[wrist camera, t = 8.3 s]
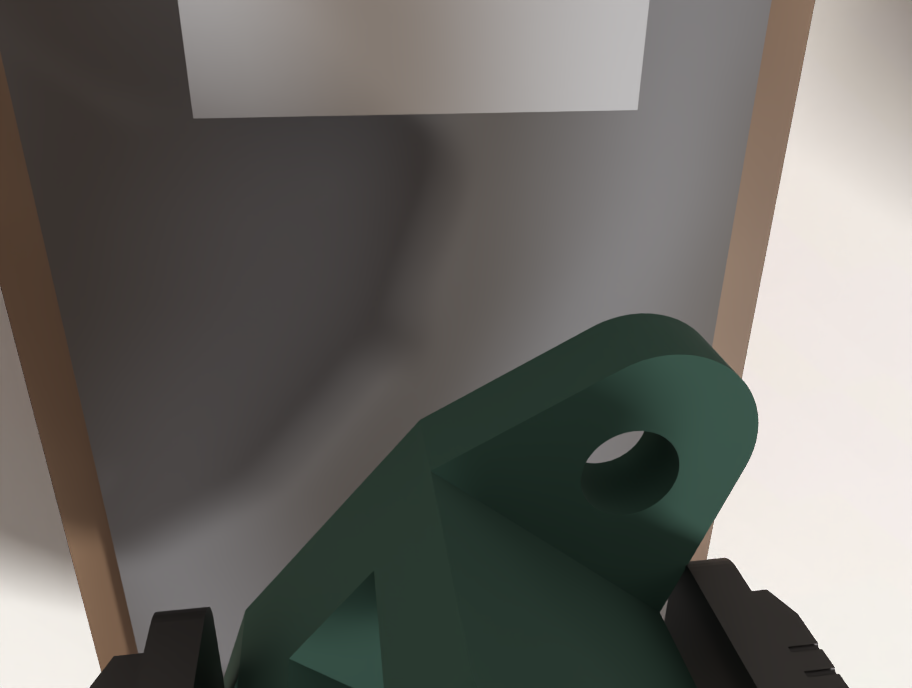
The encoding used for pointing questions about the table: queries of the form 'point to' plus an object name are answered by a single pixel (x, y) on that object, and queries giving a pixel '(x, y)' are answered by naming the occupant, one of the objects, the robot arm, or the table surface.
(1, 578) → the table surface
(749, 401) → the mount
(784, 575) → the table surface
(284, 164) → the tray
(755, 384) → the table surface
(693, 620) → the robot arm
